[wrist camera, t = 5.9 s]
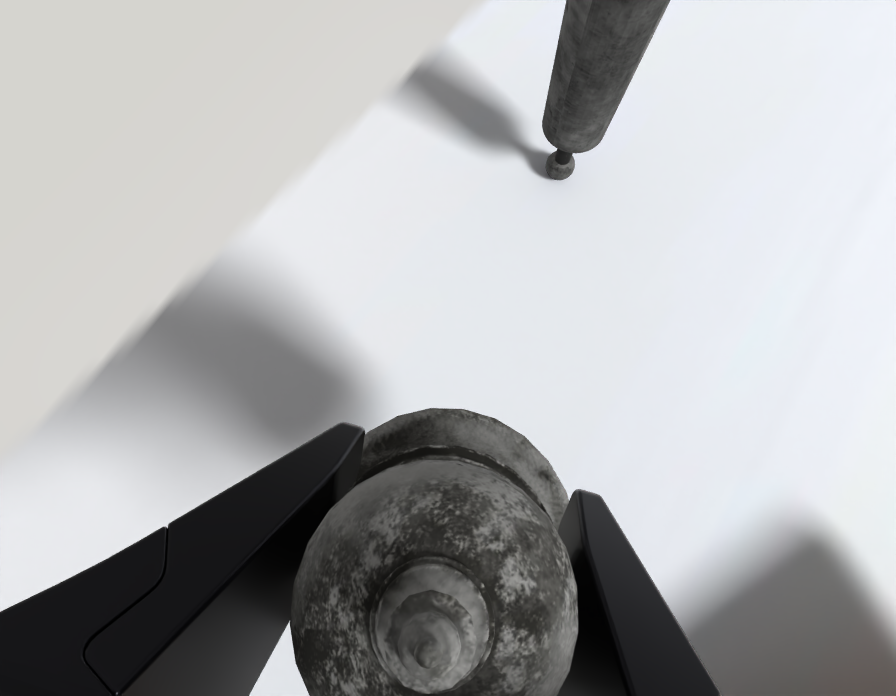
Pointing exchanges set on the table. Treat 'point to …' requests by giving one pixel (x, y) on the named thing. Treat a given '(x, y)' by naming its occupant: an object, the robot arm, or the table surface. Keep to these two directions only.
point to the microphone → (593, 72)
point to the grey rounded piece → (439, 568)
